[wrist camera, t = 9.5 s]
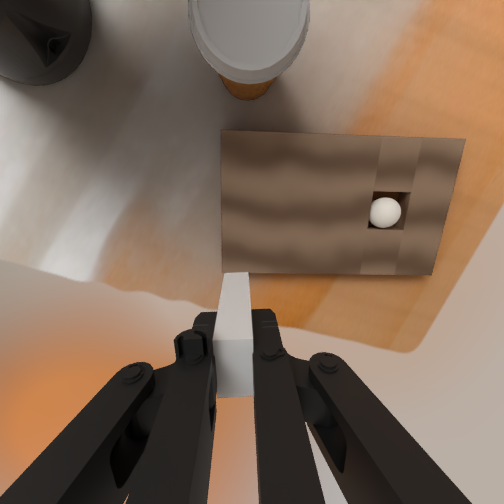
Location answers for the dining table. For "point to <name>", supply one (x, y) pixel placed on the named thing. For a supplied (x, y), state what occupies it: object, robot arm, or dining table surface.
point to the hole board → (332, 202)
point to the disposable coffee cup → (249, 39)
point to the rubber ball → (384, 212)
